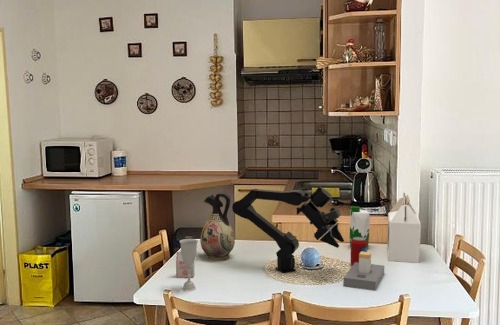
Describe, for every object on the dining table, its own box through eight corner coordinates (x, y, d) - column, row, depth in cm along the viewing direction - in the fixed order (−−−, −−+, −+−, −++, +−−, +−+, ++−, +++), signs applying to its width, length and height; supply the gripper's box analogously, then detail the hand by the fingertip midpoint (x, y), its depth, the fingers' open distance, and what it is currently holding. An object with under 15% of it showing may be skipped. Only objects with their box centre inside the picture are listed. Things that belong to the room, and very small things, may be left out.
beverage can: (366, 268, 228) (367, 240, 227) (350, 267, 230) (351, 239, 228) (366, 264, 235) (367, 237, 234) (350, 263, 236) (351, 236, 235)
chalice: (180, 285, 206) (179, 238, 204) (198, 284, 207) (198, 238, 205) (179, 292, 199) (179, 243, 197) (198, 291, 199) (197, 243, 197)
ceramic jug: (194, 260, 239) (193, 192, 236) (209, 251, 254) (209, 187, 250) (229, 264, 233) (229, 195, 230) (243, 255, 247) (243, 190, 244)
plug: (358, 280, 213) (359, 253, 211) (360, 277, 216) (361, 251, 215) (368, 281, 211) (369, 255, 210) (370, 278, 215) (371, 252, 214)
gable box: (419, 263, 237) (422, 199, 234) (388, 261, 240) (390, 198, 237) (415, 250, 259) (417, 191, 256) (387, 248, 262) (389, 190, 259)
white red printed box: (177, 274, 219) (177, 250, 218) (194, 275, 219) (194, 250, 218) (176, 277, 215) (176, 253, 214) (193, 278, 215) (193, 253, 214)
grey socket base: (343, 286, 206) (343, 277, 205) (354, 270, 226) (355, 261, 226) (375, 290, 201) (375, 281, 201) (384, 273, 222) (384, 265, 221)
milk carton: (348, 245, 266) (349, 205, 264) (366, 245, 266) (367, 205, 264) (351, 250, 257) (352, 208, 255) (370, 250, 257) (371, 208, 255)
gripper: (322, 206, 208) (350, 236, 205) (333, 198, 225) (359, 226, 222) (302, 224, 212) (330, 255, 209) (314, 215, 229) (340, 243, 226)
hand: (341, 244), depth 216 cm, fingers open, 9 cm apart
